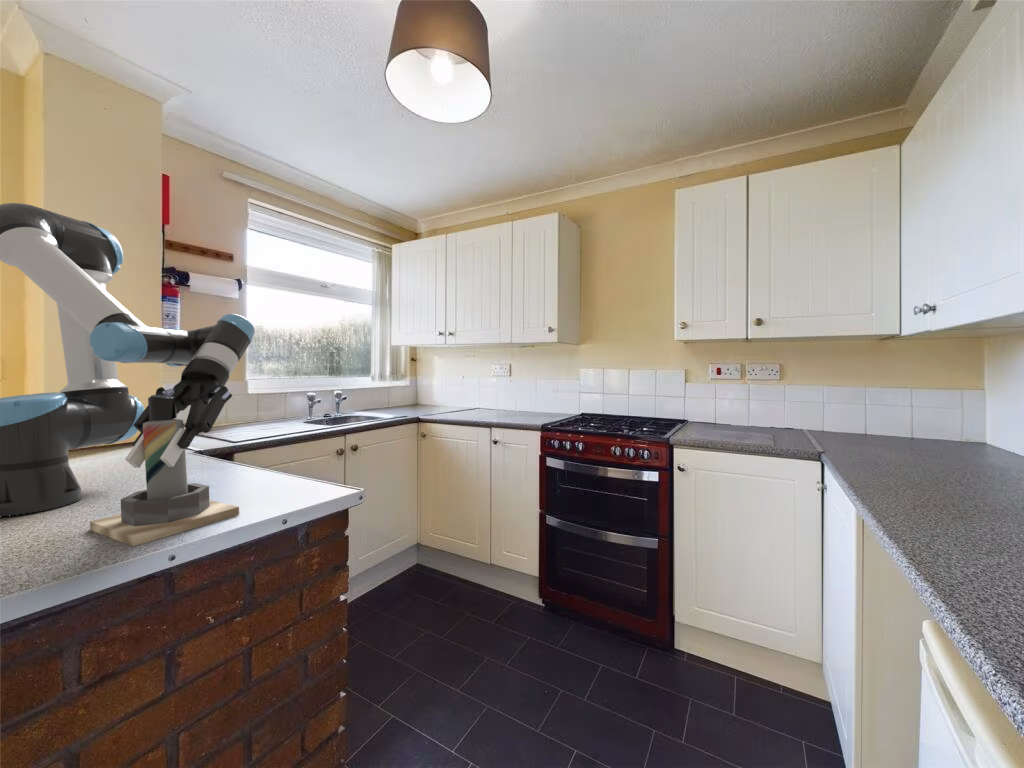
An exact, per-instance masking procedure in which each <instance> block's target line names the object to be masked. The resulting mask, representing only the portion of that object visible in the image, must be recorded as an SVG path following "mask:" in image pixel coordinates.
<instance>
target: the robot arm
mask: <svg viewBox="0 0 1024 768" xmlns="http://www.w3.org/2000/svg"><path fill="white" fill-rule="evenodd" d="M0 262H2V263H4V264H6V265H8V266H11V267H15V268H17V269H18V270H19V271H21V272H22V273H23V274H24V275H25V277H27V278H29V280H31V281H32V283H34V284H35V285H36V286H37V287H38V288H39V289H41V290H42V291H43V292H44V293H45V294H46V295H48V296H49V297H50V298H51V299H52V300H53V301H54V302H55V303H56V307H57V315H58V320H59V329H60V335H61V342H62V349H63V356H64V364H65V365H64V366H65V370H66V378H67V384H66V385H65V386H64V387H63V388H62V389H61V390H60V391H59V392H42V393H41V392H38V393H32V394H30V393H29V394H19V395H12V396H5V397H0V516H9V515H16V516H20V515H19V514H23V515H26V513H29V514H32V513H33V512H34V513H38V511H39V512H45V511H48V510H52V509H56V508H60V507H64V506H68V505H71V504H75V503H76V502H78V501H80V500H81V499H82V498H83V497H82V494H83V493H82V491H83V490H82V486H81V485H80V483H79V481H78V479H77V478H76V476H75V474H74V471H72V468H71V467H70V462H69V450H76V449H82V448H88V447H89V448H90V447H94V446H95V447H96V446H101V445H109V444H110V445H111V444H114V443H117V442H123V441H126V440H129V439H131V438H132V437H134V436H135V435H136V434H137V433H138V432H140V433H139V434H138V436H137V437H136V439H135V440H134V441H133V443H132V446H133V447H132V448H131V450H130V451H129V453H128V454H127V456H126V457H125V458H124V460H125V461H126V462H128V463H129V464H130V465H131V466H132V467H133V468H135V469H139V468H140V467H141V466H142V465H143V463H144V462H145V453H144V438H143V423H145V422H149V421H153V420H149V406H148V405H147V406H146V408H145V407H144V405H143V403H142V402H141V401H139V400H140V399H139V398H138V397H137V396H134V395H132V394H129V386H127V385H126V384H124V383H123V382H121V381H120V380H119V375H118V374H119V373H118V368H117V367H118V366H117V362H118V363H121V364H122V363H123V364H136V363H137V364H138V363H139V364H141V363H142V364H165V365H167V366H169V367H175V368H177V367H184V369H183V370H182V372H181V376H180V377H181V378H180V381H179V382H178V383H176V384H175V385H174V386H173V387H172V388H168V389H167V388H166V389H165V388H164V387H163V386H162V387H161V386H160V387H158V388H157V389H156V390H155V394H154V395H168V396H175V398H176V413H177V415H178V414H179V413H180V412H181V411H185V410H186V409H187V408H188V407H189V406H190V407H189V411H188V414H187V419H186V421H185V423H184V422H183V423H184V424H183V426H184V428H180V429H179V430H178V431H177V433H176V434H175V435H174V437H173V438H172V440H171V442H170V443H169V445H168V446H167V448H166V450H165V451H164V453H163V454H162V456H161V457H160V459H161V460H162V461H163V462H164V463H165V464H166V465H168V466H169V467H174V465H175V463H176V462H177V460H178V458H179V457H180V455H181V453H182V452H183V450H184V449H185V450H186V449H188V448H189V447H190V446H191V443H192V442H193V441H194V439H195V437H196V436H198V435H199V434H200V433H205V434H208V433H209V432H211V430H212V428H213V426H214V425H215V423H216V421H217V419H218V417H219V416H220V413H222V410H223V408H224V406H225V405H226V403H227V402H228V401H229V400H230V399H231V398H232V397H233V394H232V393H231V391H230V390H229V388H228V387H227V386H226V383H227V382H228V381H229V379H230V377H231V375H232V373H234V370H235V368H236V366H238V363H239V362H240V360H241V359H242V357H243V355H244V354H245V352H246V350H247V349H248V348H249V345H251V343H252V339H253V338H254V335H255V333H256V331H255V327H254V325H253V323H252V322H251V321H250V320H249V319H248V318H247V317H244V316H243V315H239V314H236V313H227V314H224V315H222V316H221V318H219V319H218V320H217V321H216V323H215V324H213V325H210V326H204V327H201V328H197V329H192V330H191V329H190V330H182V329H174V328H173V329H172V328H163V327H155V326H148V325H146V324H144V322H142V321H141V320H140V319H139V318H137V317H136V316H135V315H134V314H133V313H132V312H131V311H129V310H128V309H127V308H126V307H125V306H124V305H122V304H121V302H119V301H118V300H117V299H116V298H115V297H114V296H112V294H110V293H109V292H108V291H107V287H106V285H107V284H109V283H110V282H111V281H113V280H114V278H113V277H114V274H117V272H119V271H120V270H121V265H122V264H123V262H124V253H123V247H122V245H121V244H120V241H118V239H117V237H115V236H114V234H112V233H111V232H110V231H108V230H107V229H105V228H103V227H100V226H97V225H95V224H93V223H90V222H88V221H84V220H79V219H77V218H76V219H75V218H72V217H71V216H70V217H69V216H66V215H64V214H59V213H57V212H55V211H54V212H53V211H50V210H48V209H44V208H42V207H39V206H36V205H33V204H26V203H19V202H8V203H1V204H0ZM34 513H33V514H34ZM9 517H10V516H9Z"/></svg>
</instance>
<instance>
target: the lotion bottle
mask: <svg viewBox="0 0 1024 768" xmlns="http://www.w3.org/2000/svg"><path fill="white" fill-rule="evenodd" d="M147 404H148V405H147V406H149V420H153V421H149V422H145V423H143V438H144V453H145V460H144V464H145V465H144V466H145V480H146V490H147V498H148V500H153V499H164V498H170V497H175V496H179V495H183V494H188V486H187V484H188V474H187V458H186V449H184V450H183V452H182V453H181V455H180V457H179V458H178V460H177V462H176V463H175V465H174V467H169V466H168V465H166V464H165V463H164V462H163V461H162V460H161V459H160V457H161V456H162V454H163V453H164V451H165V450H166V448H167V446H168V445H169V443H170V442H171V440H172V438H173V437H174V435H175V434H176V433H177V431H178V430H179V429H180V428H184V429H185V427H184V426H183V424H184V420H183V419H179V418H178V416H177V415H178V414H177V413H176V398H175V396H168V395H155V394H153V395H150V396H149V397H147ZM177 418H178V419H177ZM184 425H185V424H184Z"/></svg>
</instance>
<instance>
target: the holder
mask: <svg viewBox="0 0 1024 768" xmlns="http://www.w3.org/2000/svg"><path fill="white" fill-rule="evenodd" d="M187 486H188V494H183V495H179V496H175V497H170V498H164V499H153V500H148V498H147V489H144V490H138V491H135V492H132V493H131V494H129V495H127V496H125V497H122V498H121V499H120V514H115V515H111V516H107V517H103V518H99V519H94V520H91V521H89V530H90V531H92V532H94V533H98V534H100V535H102V536H105V537H107V538H111V539H112V540H115V541H118V542H120V543H123V544H125V545H129V546H131V547H136V546H139V545H143V544H146V543H149V542H153V541H155V540H159V539H163V538H165V537H169V536H173V535H175V534H176V535H177V534H180V533H183V532H186V531H189V530H192V529H195V528H199V527H203V526H206V525H209V524H212V523H216V522H219V521H222V520H227V519H229V518H233V517H236V516H239V515H240V507H239V506H237V505H233V504H229V503H226V502H225V503H224V502H220V501H216V500H211V499H210V486H209V485H206V484H201V483H195V482H194V483H187ZM238 514H239V515H238ZM235 515H236V516H235ZM232 516H233V517H232Z"/></svg>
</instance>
